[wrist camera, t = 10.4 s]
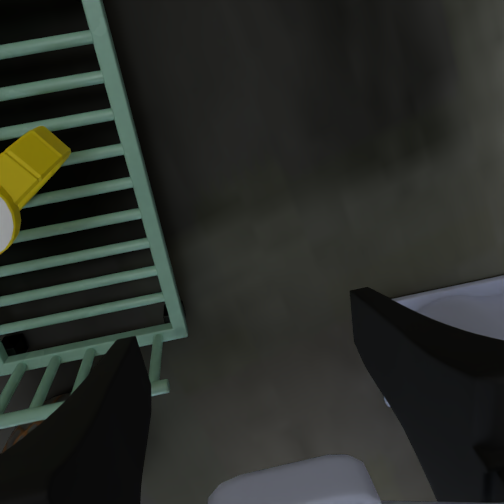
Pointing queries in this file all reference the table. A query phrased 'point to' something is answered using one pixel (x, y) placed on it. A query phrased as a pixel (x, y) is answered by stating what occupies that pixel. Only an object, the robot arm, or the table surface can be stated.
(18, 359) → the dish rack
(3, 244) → the watch
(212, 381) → the table surface
